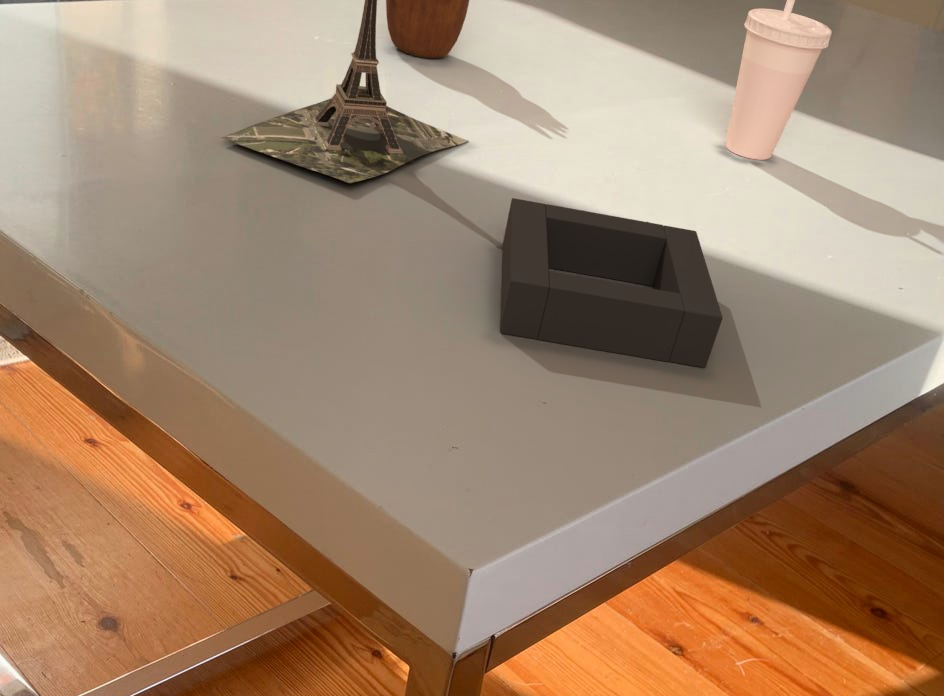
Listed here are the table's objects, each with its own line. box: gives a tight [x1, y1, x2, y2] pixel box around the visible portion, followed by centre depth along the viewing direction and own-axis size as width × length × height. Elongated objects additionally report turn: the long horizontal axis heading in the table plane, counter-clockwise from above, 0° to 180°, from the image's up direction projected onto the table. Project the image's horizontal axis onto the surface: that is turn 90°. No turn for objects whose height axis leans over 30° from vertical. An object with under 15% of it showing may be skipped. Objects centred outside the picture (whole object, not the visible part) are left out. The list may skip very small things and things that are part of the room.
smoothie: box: [725, 0, 833, 161], centre depth 84 cm, size 6×6×14 cm
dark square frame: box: [499, 197, 724, 369], centre depth 62 cm, size 11×11×3 cm
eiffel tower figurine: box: [220, 0, 469, 184], centre depth 72 cm, size 15×10×13 cm
